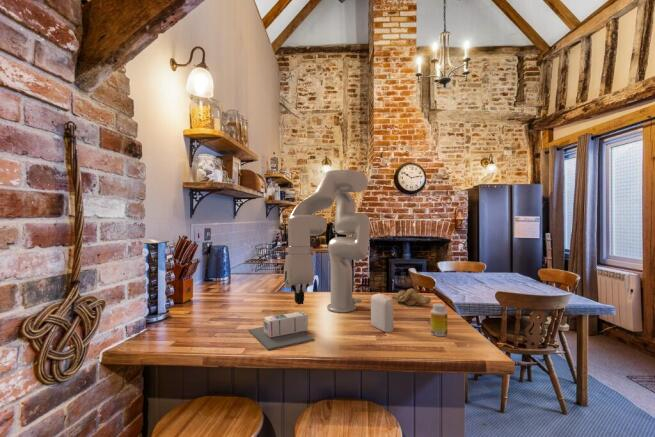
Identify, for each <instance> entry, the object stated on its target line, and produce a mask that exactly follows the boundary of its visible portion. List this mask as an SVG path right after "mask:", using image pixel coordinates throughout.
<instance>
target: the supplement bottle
mask: <svg viewBox="0 0 655 437" xmlns="http://www.w3.org/2000/svg"><path fill="white" fill-rule="evenodd" d="M430 333H431V335H433V336H434V337H446V336H447V335H448V311H447V310H446V305H445V304H443V303H433V305H432V309H431V310H430Z"/></svg>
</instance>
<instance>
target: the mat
mask: <svg viewBox="0 0 655 437" xmlns="http://www.w3.org/2000/svg"><path fill="white" fill-rule="evenodd" d="M248 332H249V333H250V335H252V336H253V337H254V338H255V340H257V341H258V342H259V343H260V344H261V345H262V346H263V347H265V349H266V350H267V351H272V350H277V349H282V348H285V347H292V346H295V345H300V344H305V343H309V342H314V341H315V338H314V337H312V336H311V335H309V334H308V333H307V332H306V331H302V332H297V333H291V334H286V335H281V336H276V337H271V338H270V337H269V336H267V335H266V334H265V333H264V326H261V327H254V328H250V329H248Z"/></svg>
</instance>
